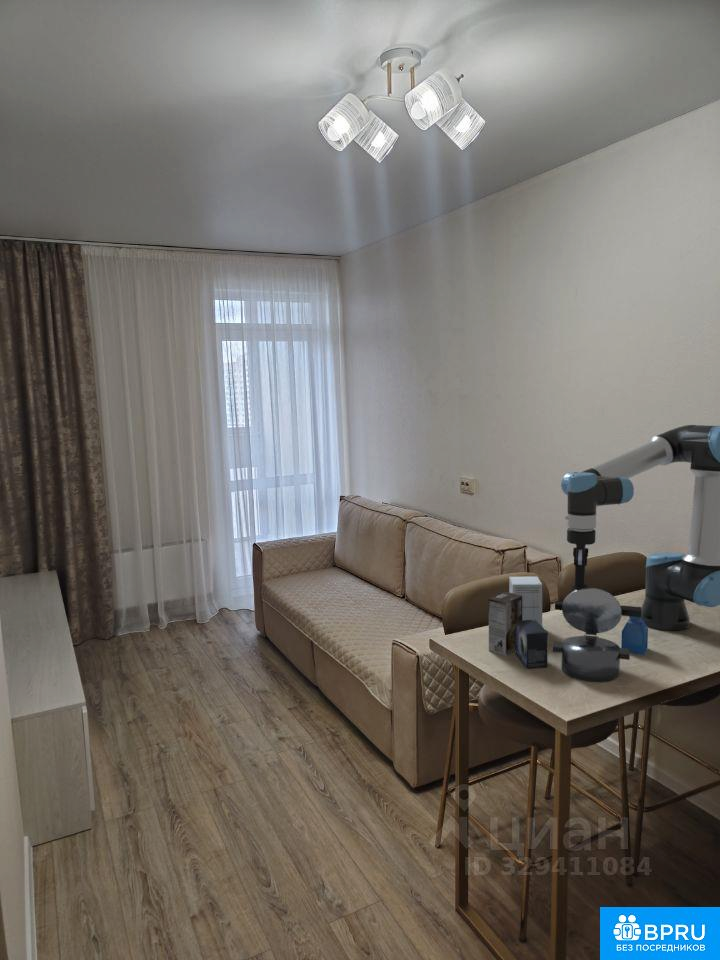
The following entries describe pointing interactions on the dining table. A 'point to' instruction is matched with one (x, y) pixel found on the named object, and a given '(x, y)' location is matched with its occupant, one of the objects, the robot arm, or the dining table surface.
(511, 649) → the coffee box
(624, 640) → the perfume bottle
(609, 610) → the lid
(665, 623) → the robot arm
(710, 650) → the dining table surface
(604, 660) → the pot
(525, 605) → the supplement box
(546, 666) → the small box
